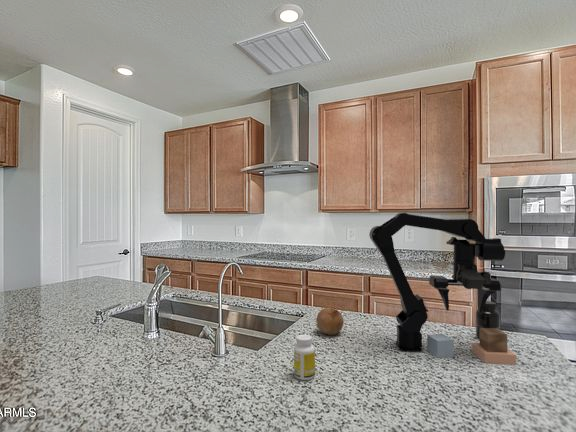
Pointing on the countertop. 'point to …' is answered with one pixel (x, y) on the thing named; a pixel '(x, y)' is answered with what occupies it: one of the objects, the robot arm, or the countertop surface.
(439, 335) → the slate-blue cube
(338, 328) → the onion
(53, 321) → the countertop surface
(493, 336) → the walnut cube
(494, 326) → the supplement bottle
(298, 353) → the supplement bottle
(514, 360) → the base block
